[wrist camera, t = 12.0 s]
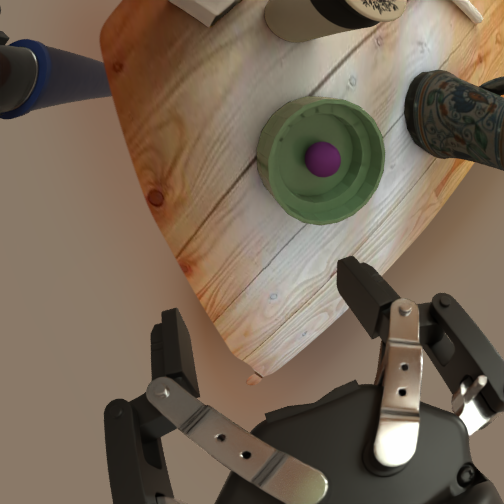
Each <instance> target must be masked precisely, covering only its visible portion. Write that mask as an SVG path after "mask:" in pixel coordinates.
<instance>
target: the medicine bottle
mask: <svg viewBox="0 0 504 504" xmlns="http://www.w3.org/2000/svg"><path fill="white" fill-rule="evenodd" d="M169 1H170V2H171V3H173V4H174V5H176V6H178V7H179V8H181V9H182V10H184V11H185V12H187V13H188V14H190V15H191V16H193V17H194V18H196V19H197V20H199V21H200V22H202V23H203V24H204V25H206V26H207V27H209V28H210V27H212V26H213V25H215V24H216V23H217V22H218V21H219V20H220V19H221V18H222V17H223V16H224V15H225V14H226V13H228V12H229V11H230V10H231V9H232V8H233V7H234V6H236V5H237V4H238V3H239V2H240V1H242V0H169Z"/></svg>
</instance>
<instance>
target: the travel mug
mask: <svg viewBox="0 0 504 504" xmlns="http://www.w3.org/2000/svg"><path fill="white" fill-rule="evenodd" d="M405 7H406V0H270V1H269V2H268V3H267V5H266V8H265V20H266V23H267V25H268V26H269V28H270V29H271V30H272V32H273V33H274V34H276V35H277V36H278V37H280V38H282V39H284V40H286V41H290V42H305V41H309V40H312V39H316V38H320V37H324V36H328V35H332V34H336V33H341V32H346V31H351V30H356V29H361V28H367V27H372V26H374V25H376V24H378V23H379V22H390V21H394V20H396V19H398V18H399V17H400V16H401V15H402V14H403V12H404V10H405Z"/></svg>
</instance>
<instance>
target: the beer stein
mask: <svg viewBox="0 0 504 504" xmlns="http://www.w3.org/2000/svg"><path fill="white" fill-rule="evenodd" d="M501 95H504V77H499V78H495V79H493V80H490V81H488V82H486V83H484V84H482V85H481V86H479V87H478V86H475V85H473V84H470V83H468V82H466V81H464V80H461V79H459V78H457V77H456V76H454V75H453V74H451V73H449V72H447V71H443V70H435V71H430V72H423V73H421V74H419V75H418V76H417V77H416V78H414V80H413V81H412V83H411V84H410V87H409V90H408V92H407V95H406V99H405V110H404V113H405V118H406V124H407V129H408V131H409V133H410V135H411V136H412V138H413V140H414V142H415V143H416V144H417V145H418V146H420V147H421V148H422V149H424V150H425V151H427V152H428V153H429V154H431V155H432V156H434V157H437V158H441V159H446V158H458V159H464V160H469V161H473V162H477V163H480V164H484V165H487V166H490V167H494V168H497V169H500V170H503V171H504V98H503V97H501Z"/></svg>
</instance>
